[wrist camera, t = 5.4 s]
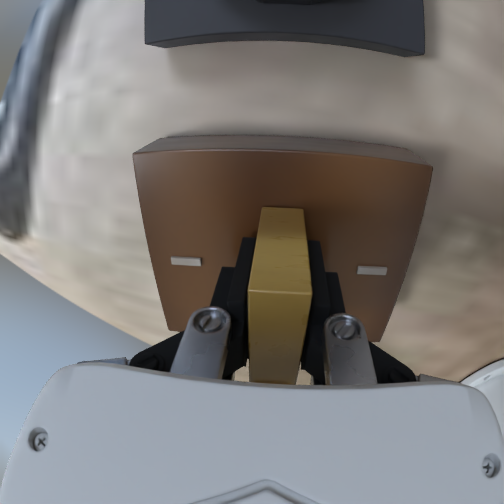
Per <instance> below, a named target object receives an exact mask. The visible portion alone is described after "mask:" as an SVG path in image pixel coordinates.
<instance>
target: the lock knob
mask: <svg viewBox="0 0 504 504" xmlns="http://www.w3.org/2000/svg"><path fill="white" fill-rule="evenodd" d="M311 300H312V283H311V273H310V263H309V254H308V245H307V236H306V227H305V219H304V211H303V209H295V208H274V207H262V210H261V216H260V222H259V227H258V233H257V239H256V245H255V250H254V256H253V262H252V268H251V273H250V279H249V285H248V343H249V382H254V383H269V384H289V385H296V381H297V376H298V371H299V366H300V361H301V356H302V351H303V346H304V340H305V335H306V329H307V324H308V318H309V312H310V306H311Z"/></svg>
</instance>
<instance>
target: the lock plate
mask: <svg viewBox="0 0 504 504" xmlns="http://www.w3.org/2000/svg"><path fill="white" fill-rule="evenodd" d="M133 162H134V169H135V176H136V183H137V189H138V195H139V201H140V207H141V213H142V218H143V223H144V229H145V234H146V239H147V244H148V248H149V253H150V258H151V262H152V267H153V271H154V275H155V279H156V284H157V288H158V292H159V296H160V300H161V303H162V307H163V311H164V315H165V318H166V322H167V326H168V329H169V330H170V331H178V332H182V331H184V330H185V329H186V326H187V323H188V321H189V318H190V317H191V315H192V314H193V313H194V312H195V311H196V310H198V309H200V308H202V307H207V306H210V303H211V300H212V297H213V293H214V290H215V287H216V284H217V280H218V277H219V274H220V271H221V268H222V267H223V266H224V267H235V265H236V261H237V257H238V253H239V249H240V245H241V242H242V238H243V237H253V238H256V239H257V233H258V227H259V222H260V216H261V210H262V207H274V208H295V209H303V211H304V219H305V227H306V236H307V240H313V241H320V244H321V250H322V256H323V261H324V267H325V272H337V274H338V277H339V282H340V287H341V291H342V296H343V301H344V306H345V312H346V314H350V315H353V316H355V317H357V318H358V319H359V320H360V321H361V322H362V323H363V325H364V327H365V331H366V335H367V339H368V341H370V342H380V340H381V338H382V336H383V333H384V331H385V328H386V326H387V323H388V321H389V318H390V316H391V313H392V311H393V308H394V306H395V303H396V300H397V298H398V295H399V292H400V289H401V286H402V284H403V281H404V278H405V275H406V272H407V269H408V266H409V262H410V259H411V256H412V253H413V249H414V246H415V243H416V239H417V236H418V232H419V228H420V225H421V221H422V217H423V213H424V209H425V204H426V200H427V196H428V191H429V187H430V182H431V177H432V172H433V166H431V165H430V164H428V163H427V162H426V161H424V160H423V159H421V158H420V157H418V156H417V155H415V154H414V153H412V152H411V151H409V150H408V149H405V148H399V147H393V146H386V145H379V144H372V143H364V142H355V141H346V140H336V139H325V138H311V137H295V136H271V135H207V136H184V137H167V138H159V139H158V140H156V141H154V142H152V143H150V144H148V145H147V146H145V147H143V148H141V149H139V150H138V151H136V152H134V153H133Z"/></svg>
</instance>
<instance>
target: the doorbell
mask: <svg viewBox="0 0 504 504" xmlns="http://www.w3.org/2000/svg"><path fill="white" fill-rule="evenodd" d="M249 40H277V41H301V42H314V43H325V44H334V45H342V46H350V47H356V48H362V49H368V50H374V51H379V52H384V53H389V54H393V55H398V56H402V57H408V56H417V55H424V54H425V28H424V6H423V0H145V44H147V45H152V46H157V47H162V48H169V47H176V46H183V45H191V44H200V43H211V42H225V41H249Z"/></svg>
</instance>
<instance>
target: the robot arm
mask: <svg viewBox="0 0 504 504" xmlns="http://www.w3.org/2000/svg"><path fill="white" fill-rule="evenodd" d="M255 245H256V238H253V237H243V238H242V242H241V245H240V249H239V253H238V257H237V261H236V265H235V267H224V266H223V267H222V268H221V271H220V274H219V277H218V280H217V284H216V287H215V290H214V293H213V297H212V300H211V303H210V306H207V307H202V308H200V309H198V310H196V311H195V312H194V313H193V314H192V315H191V317H190V318H189V321H188V323H187V326H186V329H185V330H184V331H182V332H180V333H178V334H176V335H174V336H172V337H170V338H168V339H166V340H164V341H162V342H160V343H158V344H156V345H154V346H152V347H150V348H148V349H145V350H144V351H141V352H139V353H138V354H136V355H135V356H134V357H133V358H132V359H131V360H127V359H126V357H124V358H115V359H105V360H94V361H83V362H79V363H77V364H73V365H69V366H66V367H63V368H61V369H60V370H58V371H57V372H56V373H55V374H53V375H52V377H51V378H50V379H49V380H48V381H47V383H46V384H45V386H44V387H43V389H42V390H41V392H40V394H39V395H38V397H37V398H36V400H35V402H34V404H33V406H32V408H31V410H30V411H29V413H28V416H27V418H26V420H25V422H24V424H23V426H22V429H21V431H20V433H19V436H18V438H17V441H16V443H15V446H14V448H13V451H12V453H11V456H10V459H9V461H8V464H7V468H6V471H5V474H4V477H3V481H2V485H1V488H0V504H504V359H502V360H500V361H497V362H495V363H492V364H490V365H488V366H486V367H484V368H482V369H481V370H479V371H477V372H475V373H474V374H472V375H471V376H469V377H467V378H466V379H465V380H463V381H462V382H460V383H459V382H454V381H450V380H445V379H441V378H437V377H432V376H428V375H424V374H420V375H419V376H415V375H414V373H413V371H412V370H411V369H409V368H408V367H407V366H406V365H404V364H403V363H401V362H400V361H398V360H397V359H395V358H394V357H392V356H391V355H389V354H388V353H386V352H385V351H383V350H382V349H380V348H379V347H377V346H376V345H374V344H373V343H371V342H370V341H368V339H367V335H366V331H365V327H364V325H363V323H362V322H361V321H360V320H359V319H358V318H357V317H355V316H353V315H350V314H346V312H345V306H344V301H343V296H342V291H341V287H340V282H339V277H338V274H337V272H325V267H324V261H323V256H322V250H321V244H320V241H313V240H307V245H308V254H309V263H310V273H311V283H312V300H311V306H310V312H309V318H308V324H307V329H306V335H305V340H304V346H303V351H302V356H301V361H300V362H301V370H306V371H307V372H308V373H309V374H311V385H289V384H269V383H254V382H242V381H234V378H235V371H236V370H238V369H240V368H241V367H243V366H246V362H247V359H249V343H248V285H249V279H250V273H251V268H252V262H253V256H254V250H255Z"/></svg>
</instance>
